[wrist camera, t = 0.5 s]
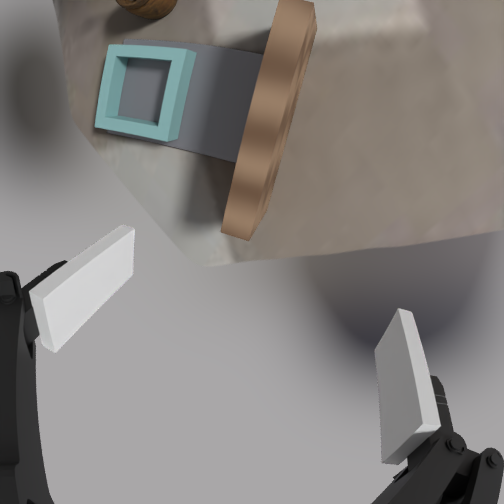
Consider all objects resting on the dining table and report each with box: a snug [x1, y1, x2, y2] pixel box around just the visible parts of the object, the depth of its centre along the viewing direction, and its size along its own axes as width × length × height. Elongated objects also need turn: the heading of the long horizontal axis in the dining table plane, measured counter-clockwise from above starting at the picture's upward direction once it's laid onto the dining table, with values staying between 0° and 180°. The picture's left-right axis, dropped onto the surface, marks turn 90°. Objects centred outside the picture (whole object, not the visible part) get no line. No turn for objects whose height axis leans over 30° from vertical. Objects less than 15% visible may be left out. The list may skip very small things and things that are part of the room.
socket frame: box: [95, 45, 197, 142], centre depth 36 cm, size 12×12×3 cm
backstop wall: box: [221, 0, 317, 241], centre depth 31 cm, size 24×3×10 cm, turn 166°
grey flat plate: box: [107, 39, 264, 163], centre depth 37 cm, size 14×22×1 cm, turn 76°
